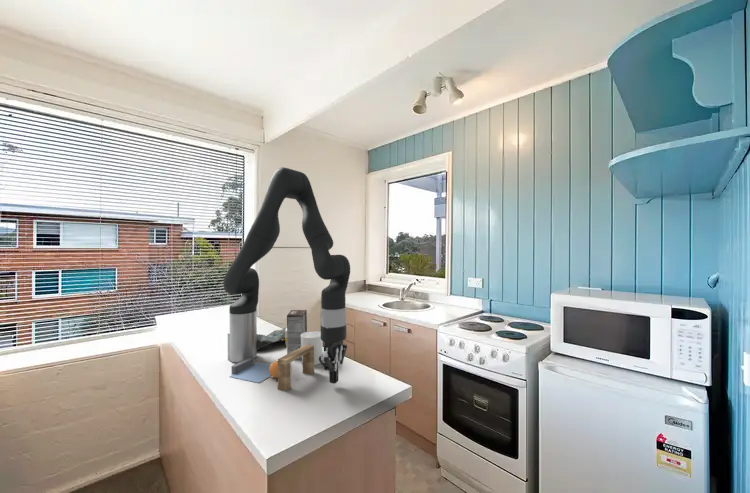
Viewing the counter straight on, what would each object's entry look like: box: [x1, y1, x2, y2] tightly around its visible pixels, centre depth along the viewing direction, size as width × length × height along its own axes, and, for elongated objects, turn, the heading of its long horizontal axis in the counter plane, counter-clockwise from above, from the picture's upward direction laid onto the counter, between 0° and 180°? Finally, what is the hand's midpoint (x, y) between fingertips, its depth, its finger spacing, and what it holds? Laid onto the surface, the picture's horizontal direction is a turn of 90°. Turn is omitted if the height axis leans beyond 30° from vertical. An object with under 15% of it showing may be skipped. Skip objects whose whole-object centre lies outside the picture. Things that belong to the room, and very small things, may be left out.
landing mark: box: [229, 362, 272, 384], centre depth 99 cm, size 12×12×1 cm
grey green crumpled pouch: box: [257, 326, 287, 351], centre depth 129 cm, size 13×7×25 cm
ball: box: [269, 360, 278, 379], centre depth 96 cm, size 5×5×5 cm
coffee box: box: [286, 309, 308, 359], centre depth 116 cm, size 9×6×16 cm
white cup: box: [301, 330, 324, 366], centre depth 108 cm, size 8×8×10 cm
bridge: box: [277, 345, 315, 392], centre depth 93 cm, size 3×14×9 cm, turn 158°
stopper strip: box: [231, 358, 255, 375], centre depth 102 cm, size 2×8×2 cm, turn 158°
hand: (333, 382), depth 88 cm, fingers closed
